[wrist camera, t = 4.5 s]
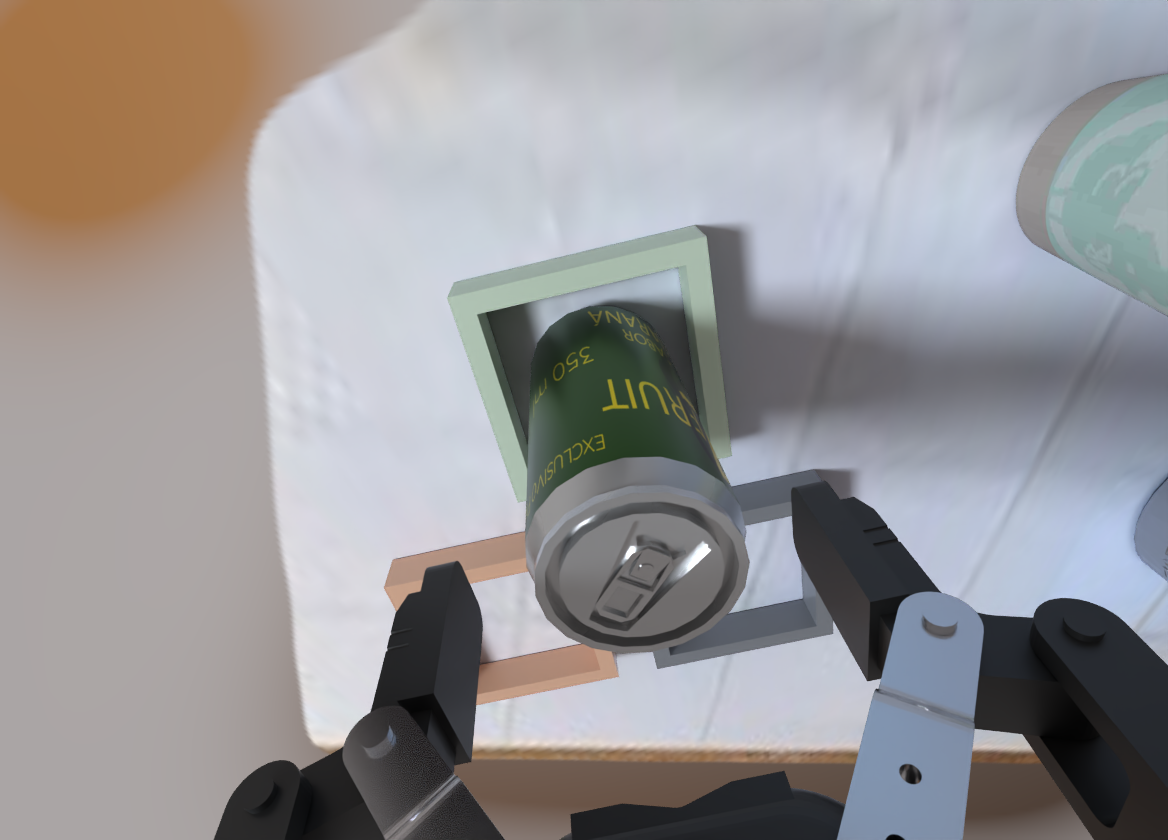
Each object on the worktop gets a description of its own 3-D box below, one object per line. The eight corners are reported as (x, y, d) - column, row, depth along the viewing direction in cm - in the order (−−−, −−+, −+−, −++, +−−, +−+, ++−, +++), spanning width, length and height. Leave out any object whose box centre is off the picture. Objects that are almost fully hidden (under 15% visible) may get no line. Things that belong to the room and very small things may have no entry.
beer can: (623, 440, 26) (679, 681, 15) (508, 392, 24) (485, 623, 14) (689, 334, 24) (807, 533, 13) (568, 275, 22) (592, 445, 12)
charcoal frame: (814, 469, 27) (830, 493, 26) (818, 606, 32) (832, 633, 30) (620, 511, 28) (625, 536, 26) (651, 640, 32) (657, 668, 31)
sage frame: (694, 225, 22) (706, 236, 20) (720, 433, 26) (731, 456, 24) (453, 282, 22) (447, 298, 21) (519, 477, 27) (518, 502, 25)
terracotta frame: (578, 520, 28) (580, 546, 26) (615, 647, 32) (618, 676, 31) (392, 560, 28) (383, 588, 27) (453, 680, 33) (449, 710, 31)
